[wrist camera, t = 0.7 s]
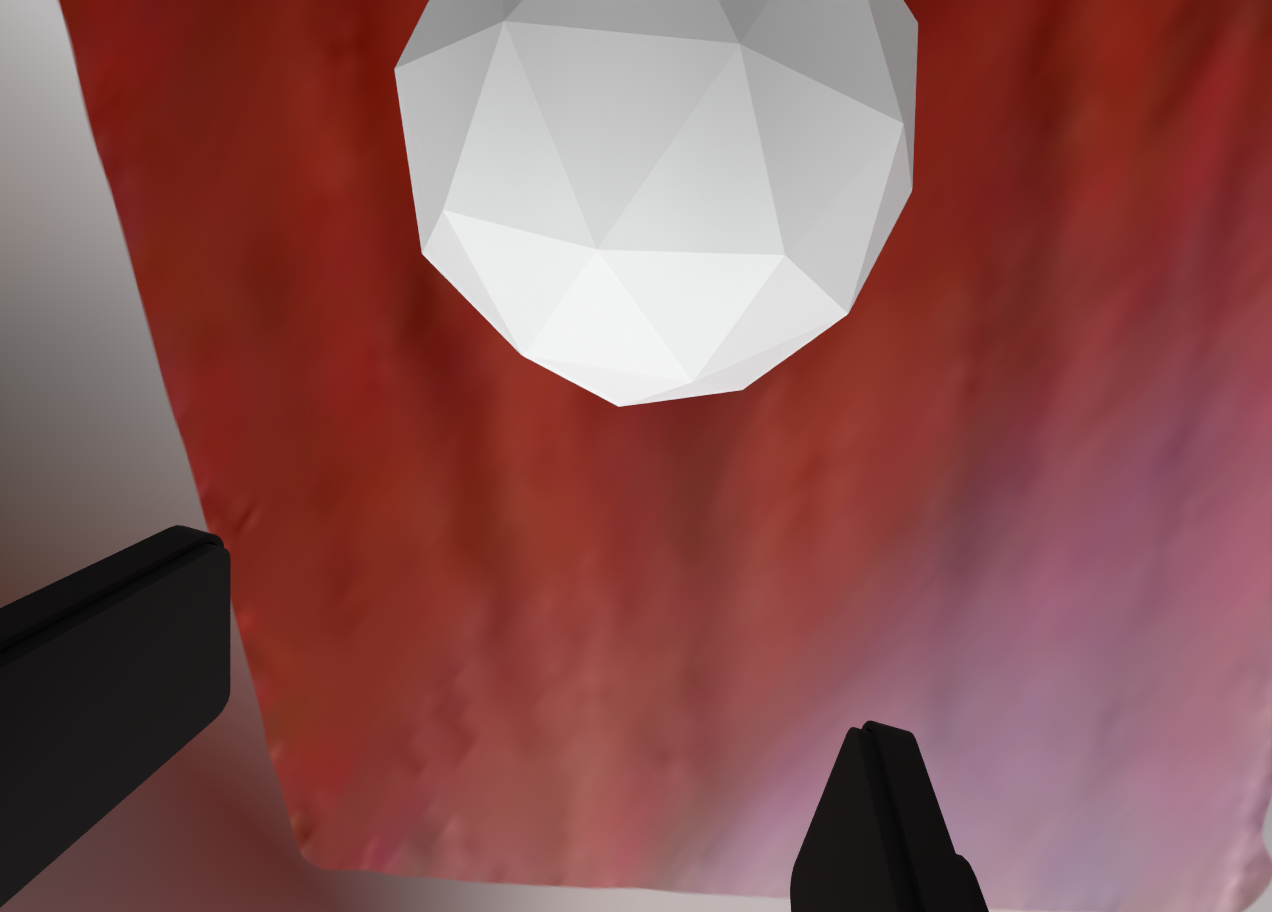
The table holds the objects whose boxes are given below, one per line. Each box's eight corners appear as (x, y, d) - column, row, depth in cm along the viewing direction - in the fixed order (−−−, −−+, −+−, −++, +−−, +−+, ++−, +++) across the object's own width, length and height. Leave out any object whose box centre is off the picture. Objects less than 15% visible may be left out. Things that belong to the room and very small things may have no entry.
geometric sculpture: (772, 210, 41) (1017, 372, 26) (475, 333, 39) (568, 581, 24) (734, -213, 27) (1184, -348, 13) (282, -60, 25) (235, -23, 11)
